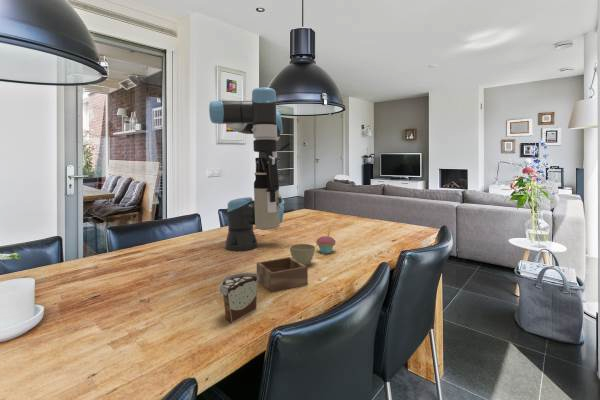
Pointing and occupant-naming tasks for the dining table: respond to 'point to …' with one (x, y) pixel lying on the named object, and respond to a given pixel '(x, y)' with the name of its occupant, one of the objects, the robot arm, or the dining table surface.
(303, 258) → the flower pot
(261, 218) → the travel mug
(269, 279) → the open box
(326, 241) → the cupcake
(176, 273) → the dining table surface
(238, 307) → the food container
